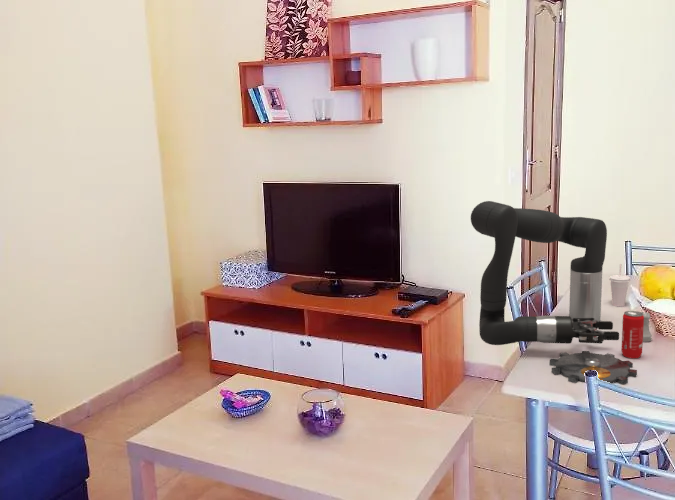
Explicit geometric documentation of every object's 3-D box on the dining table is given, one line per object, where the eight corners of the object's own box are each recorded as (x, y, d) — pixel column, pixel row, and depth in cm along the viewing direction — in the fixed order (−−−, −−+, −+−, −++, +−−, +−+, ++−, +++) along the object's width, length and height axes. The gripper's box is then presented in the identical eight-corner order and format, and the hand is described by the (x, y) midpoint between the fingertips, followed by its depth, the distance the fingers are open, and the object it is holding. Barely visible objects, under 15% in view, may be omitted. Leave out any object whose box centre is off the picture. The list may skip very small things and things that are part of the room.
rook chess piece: (648, 337, 199) (650, 310, 197) (654, 342, 194) (655, 315, 192) (632, 337, 199) (634, 311, 197) (637, 342, 195) (639, 315, 193)
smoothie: (630, 303, 230) (632, 263, 227) (626, 308, 225) (628, 267, 222) (610, 301, 234) (612, 261, 231) (606, 306, 228) (608, 265, 225)
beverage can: (632, 360, 182) (635, 317, 179) (617, 354, 186) (618, 312, 184) (646, 356, 184) (648, 314, 182) (630, 350, 189) (632, 309, 186)
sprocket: (546, 354, 189) (546, 345, 189) (625, 355, 185) (626, 346, 185) (555, 384, 169) (555, 375, 168) (644, 387, 165) (645, 377, 164)
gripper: (556, 324, 180) (621, 325, 177) (550, 308, 194) (611, 309, 191) (556, 351, 182) (620, 353, 179) (550, 333, 195) (610, 334, 192)
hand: (615, 330), depth 185 cm, fingers open, 8 cm apart
